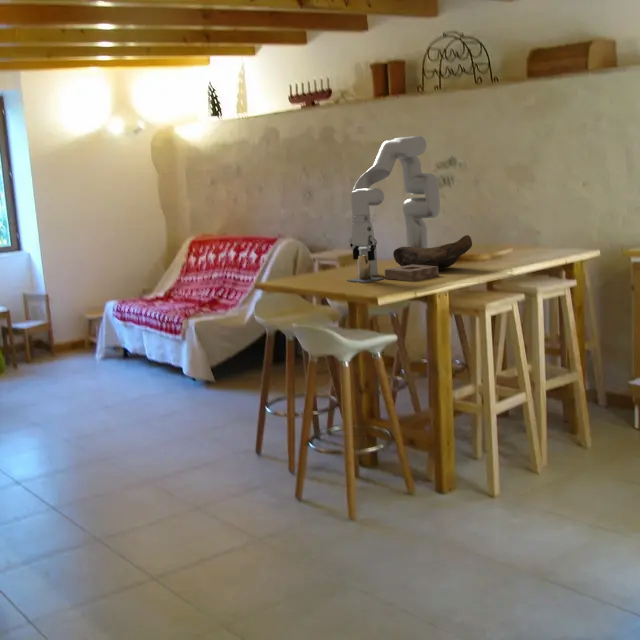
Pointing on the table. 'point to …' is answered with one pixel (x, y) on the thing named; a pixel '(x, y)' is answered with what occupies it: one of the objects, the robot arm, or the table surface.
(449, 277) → the table surface
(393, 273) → the bore block
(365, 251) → the supplement box
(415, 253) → the driftwood
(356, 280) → the slate mat
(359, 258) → the tan mottled cylinder
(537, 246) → the table surface
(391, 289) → the table surface
